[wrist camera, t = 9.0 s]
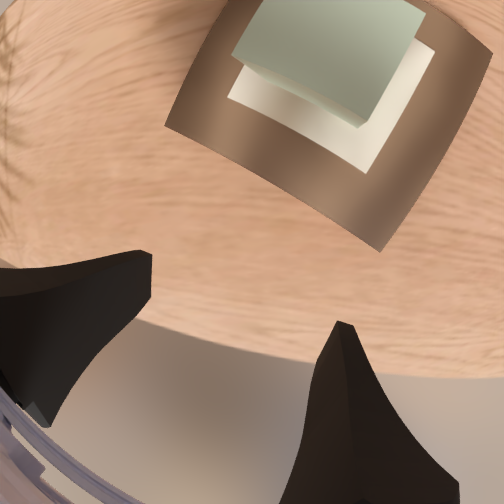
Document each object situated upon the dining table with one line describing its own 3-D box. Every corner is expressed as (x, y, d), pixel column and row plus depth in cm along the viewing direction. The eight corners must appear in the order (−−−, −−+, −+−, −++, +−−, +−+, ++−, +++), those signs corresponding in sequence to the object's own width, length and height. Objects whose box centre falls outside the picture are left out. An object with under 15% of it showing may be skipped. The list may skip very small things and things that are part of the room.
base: (473, 63, 10) (494, 52, 7) (374, 234, 17) (380, 254, 14) (281, -35, 11) (270, -59, 8) (188, 126, 18) (162, 125, 15)
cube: (400, 51, 10) (426, 13, 5) (357, 128, 12) (367, 121, 8) (310, 7, 10) (294, -43, 6) (266, 81, 12) (230, 54, 8)
